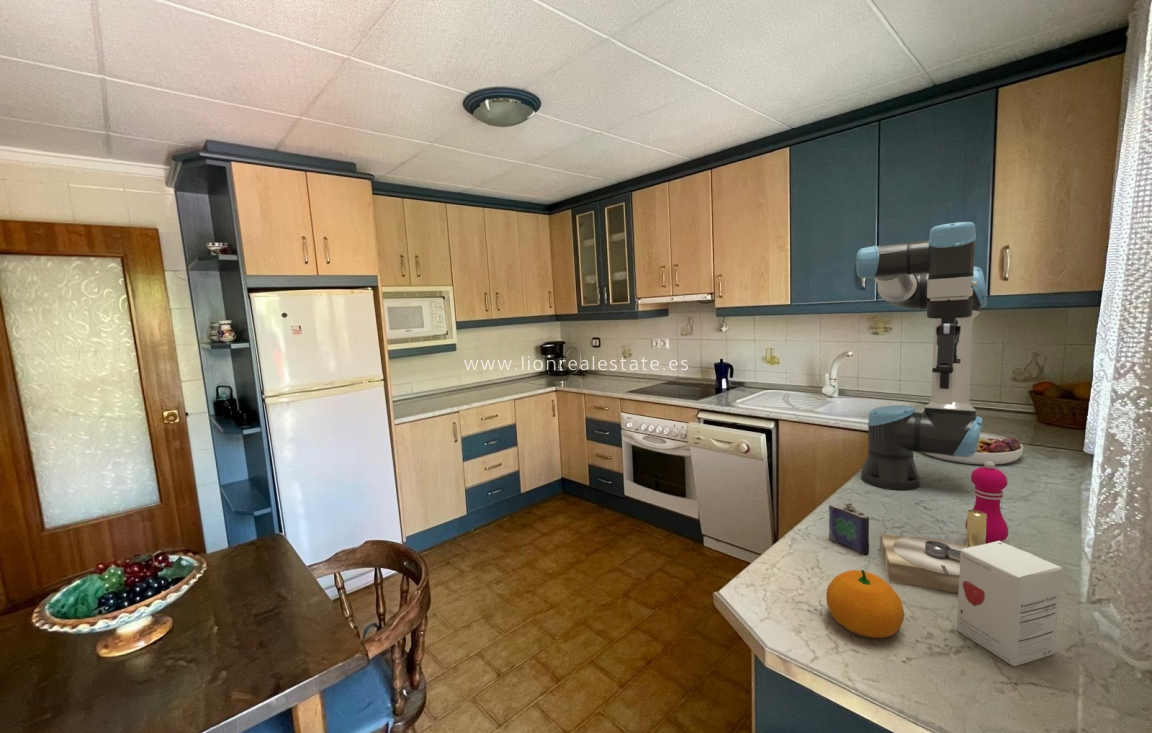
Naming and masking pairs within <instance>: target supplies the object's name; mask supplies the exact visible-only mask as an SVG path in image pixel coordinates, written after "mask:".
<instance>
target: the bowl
mask: <svg viewBox="0 0 1152 733" xmlns="http://www.w3.org/2000/svg"><path fill="white" fill-rule="evenodd" d="M1023 452H1024V446H1023V444H1022V443H1021V442H1020V441H1019V440H1017V439H1016V438H1012V437H1005V436H1003V435H1002V436H1001V435H997V434H992V433H988V432H980V437H979V442H978V446H977V449H976V452H975V454H974V455H973V456H971V457H959V456H954V457H952V456H949V455H941V454H932V453H924V452H922V453H923V454H925V455H927V456H929V457H931V458H936V459H937V460H938V459H939V460H943V461H947V462H952V463H959V464H967V465H979V466H980V465H981V466H984V463H985V462H987V461H991V462H993V463H994V464H995V466H996V465H998V464H999V465H1003V464H1004V465H1005V464H1009V463H1012V462H1015V461H1017V460H1018V459H1020V458H1021V457H1022V455H1023Z"/></svg>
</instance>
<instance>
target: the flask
mask: <svg viewBox="0 0 1152 733" xmlns="http://www.w3.org/2000/svg"><path fill="white" fill-rule="evenodd" d="M843 504H844V505H841V504H838V503H830V504H829V505H828V510H829V511H828V512H829V513H828V518H829V519H828V520H829V522H828V528H829V529H828V539H829V541H830V542H832V543H833V544H837V545H839V546H841V547H843V548H844V549H849V551H853V552H854V553H857V554H859V555H861V556H866V557H867V556H868V555H869V554H870V517H869V516H868V514H866V513H864V512H863V511H861V510H858V509H857V508H856V507H855V506H853V504H854V501H848V502H844V503H843Z"/></svg>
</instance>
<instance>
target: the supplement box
mask: <svg viewBox="0 0 1152 733" xmlns="http://www.w3.org/2000/svg"><path fill="white" fill-rule="evenodd" d="M1003 542H1004V541H1003ZM1003 542H1001V541H996V542H992V543H988V544H983V545H979V546H973V547H968V548H964V549H961V551H960V574H959V593H957V594H958V595H957V596H958V598H957V614H956V615H957V616H956V631H958V632H960V633H961V634H962V635H964V636H966V637H967V638H969V639H970V640H971V641H973V642H974V643H976V644H978V645H980V646H981V647H983V648H984V649H985V650H987V651H989V652H990V653H992V654H993V655H995V656H996V657H998V658H1000V659H1001V660H1003V661H1004V662H1006V663H1007V664H1009V665H1010V666H1012V667H1017V666H1021V665H1024V664H1027V663H1031V662H1033V661H1037V660H1039V659H1042V658H1045V657H1049V656H1051V655H1052V656H1053V655H1055V653H1056V652H1055V651H1056V638H1057V628H1058V626H1057V625H1058V614H1059V604H1060V601H1059V600H1060V591H1061V578H1062V572H1063V567H1061V566H1060V565H1057V564H1054V563H1052V562H1050V561H1048V560H1046V559H1043V558H1041V557H1038V556H1036V555H1035V554H1032V553H1031V552H1028V551H1025V550H1023V549H1019V548H1017V547H1015V546H1013V545H1010V544H1008V543H1005V542H1004V543H1003Z"/></svg>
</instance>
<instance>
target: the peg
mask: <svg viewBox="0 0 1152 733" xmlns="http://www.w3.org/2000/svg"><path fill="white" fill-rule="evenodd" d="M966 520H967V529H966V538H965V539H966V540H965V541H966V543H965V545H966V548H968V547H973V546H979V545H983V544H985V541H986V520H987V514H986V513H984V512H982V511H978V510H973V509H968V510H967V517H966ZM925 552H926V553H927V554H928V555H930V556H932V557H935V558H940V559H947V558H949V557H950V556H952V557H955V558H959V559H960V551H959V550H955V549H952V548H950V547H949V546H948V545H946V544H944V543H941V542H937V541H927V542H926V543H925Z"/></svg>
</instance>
